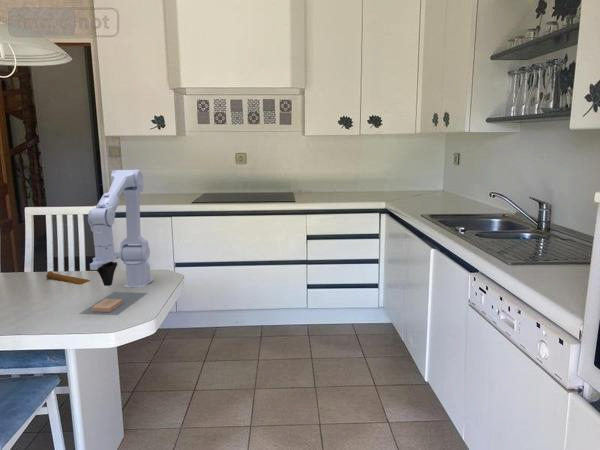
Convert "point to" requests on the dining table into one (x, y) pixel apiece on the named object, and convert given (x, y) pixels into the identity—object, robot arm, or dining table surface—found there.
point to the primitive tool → (66, 278)
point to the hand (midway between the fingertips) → (108, 285)
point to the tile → (107, 305)
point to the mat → (127, 301)
